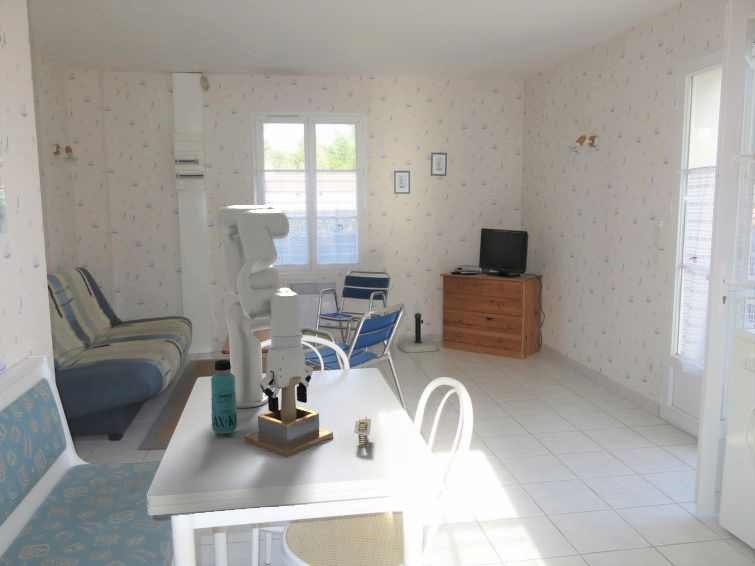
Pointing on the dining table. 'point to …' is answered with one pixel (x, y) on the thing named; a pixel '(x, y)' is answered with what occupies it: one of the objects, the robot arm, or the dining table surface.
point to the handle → (289, 401)
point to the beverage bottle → (223, 399)
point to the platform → (363, 430)
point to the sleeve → (288, 432)
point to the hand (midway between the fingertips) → (288, 406)
